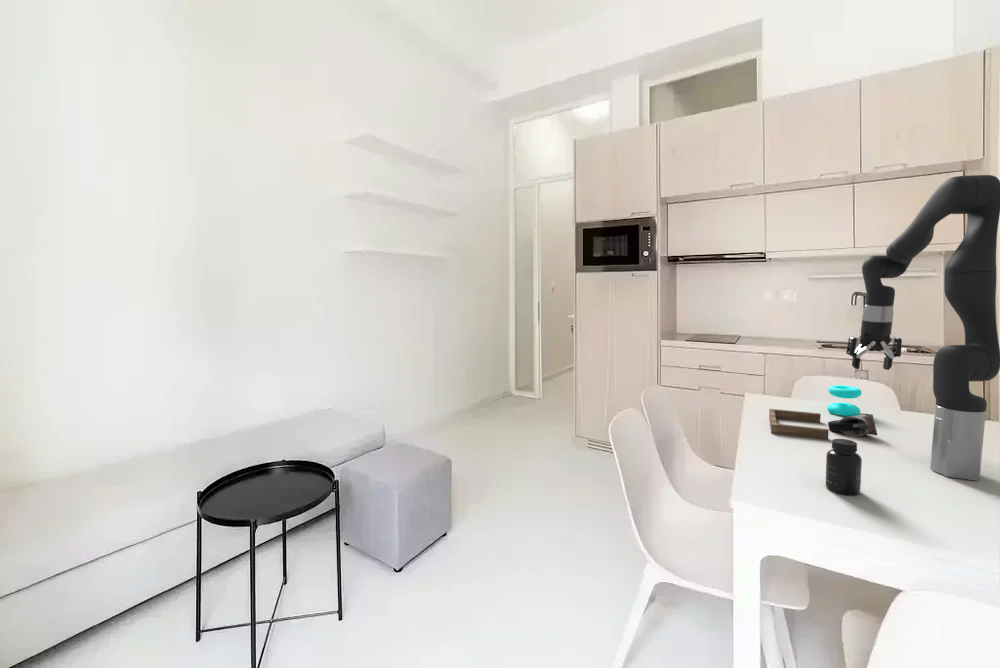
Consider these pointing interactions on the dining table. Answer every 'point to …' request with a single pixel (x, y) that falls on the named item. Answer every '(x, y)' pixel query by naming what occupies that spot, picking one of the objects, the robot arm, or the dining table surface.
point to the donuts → (844, 408)
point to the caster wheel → (855, 425)
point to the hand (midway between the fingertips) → (871, 368)
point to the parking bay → (796, 430)
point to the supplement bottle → (843, 467)
